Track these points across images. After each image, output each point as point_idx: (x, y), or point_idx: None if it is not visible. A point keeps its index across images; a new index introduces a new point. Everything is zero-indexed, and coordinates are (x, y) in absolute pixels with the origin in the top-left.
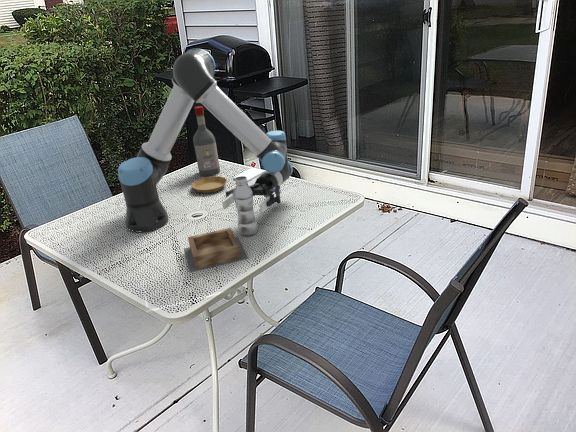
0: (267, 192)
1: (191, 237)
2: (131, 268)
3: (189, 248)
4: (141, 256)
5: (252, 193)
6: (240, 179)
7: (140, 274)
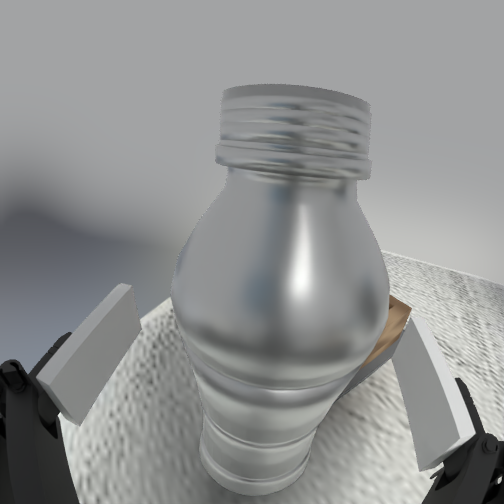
0: (40, 494)
1: (401, 308)
2: (432, 282)
3: (400, 338)
4: (457, 307)
5: (172, 281)
6: (343, 142)
7: (403, 274)
